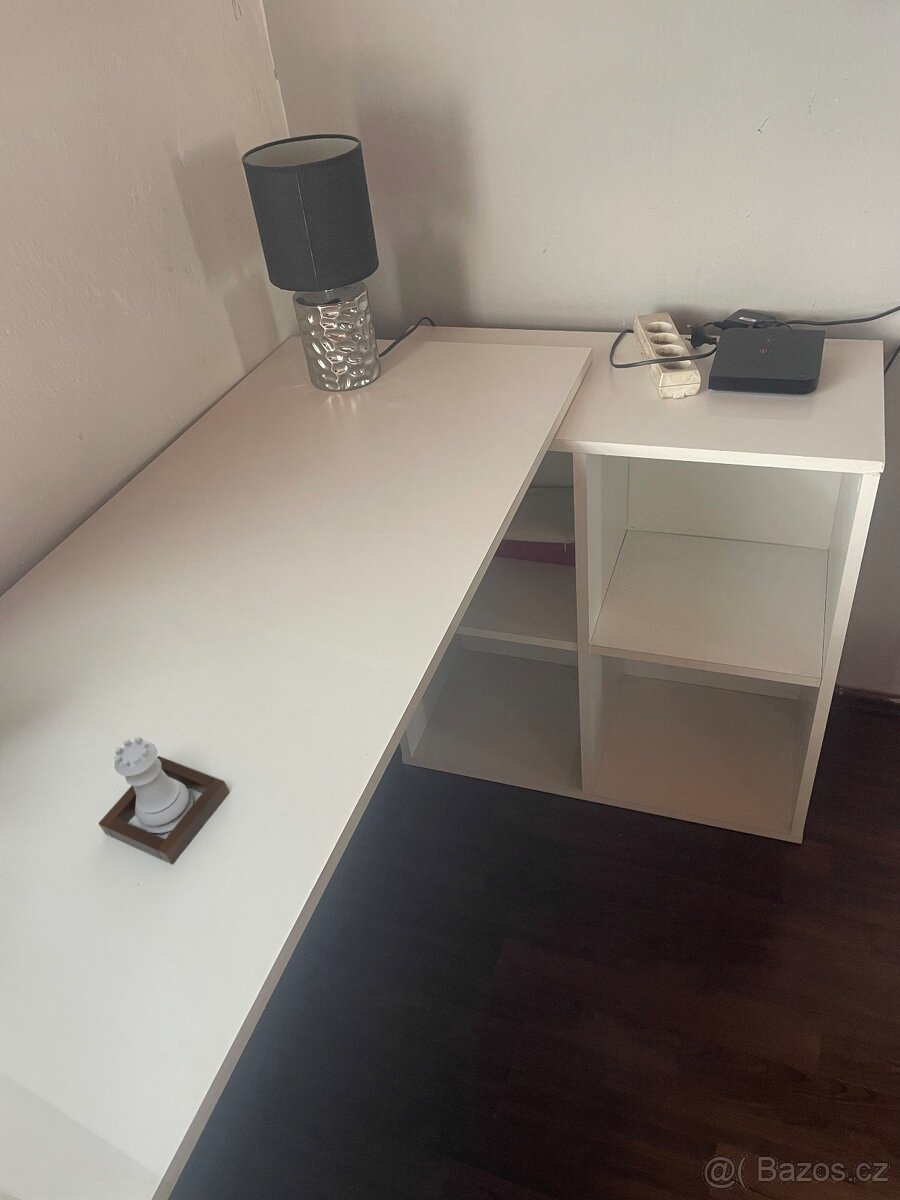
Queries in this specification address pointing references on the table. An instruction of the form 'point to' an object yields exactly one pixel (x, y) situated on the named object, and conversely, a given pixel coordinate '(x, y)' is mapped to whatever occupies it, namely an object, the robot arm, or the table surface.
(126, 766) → the rook chess piece
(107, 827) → the holder collar
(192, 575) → the table surface
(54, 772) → the table surface
